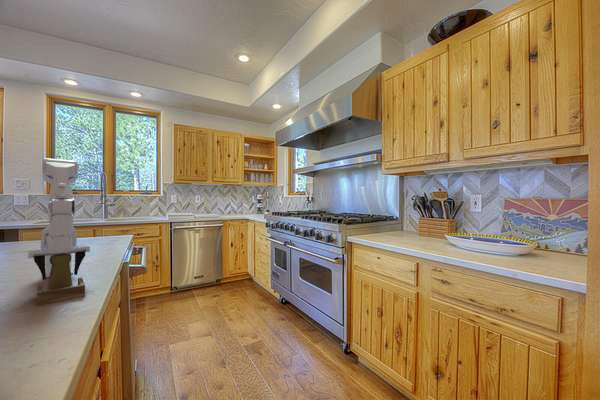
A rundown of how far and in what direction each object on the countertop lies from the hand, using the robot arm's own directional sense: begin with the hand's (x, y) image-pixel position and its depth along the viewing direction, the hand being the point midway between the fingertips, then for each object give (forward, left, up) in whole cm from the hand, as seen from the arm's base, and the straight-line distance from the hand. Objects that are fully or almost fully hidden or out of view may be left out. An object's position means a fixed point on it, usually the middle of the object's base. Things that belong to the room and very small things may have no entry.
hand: (60, 276), depth 82 cm
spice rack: (+10, 0, -3) cm, 11 cm away
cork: (0, 0, -4) cm, 4 cm away
